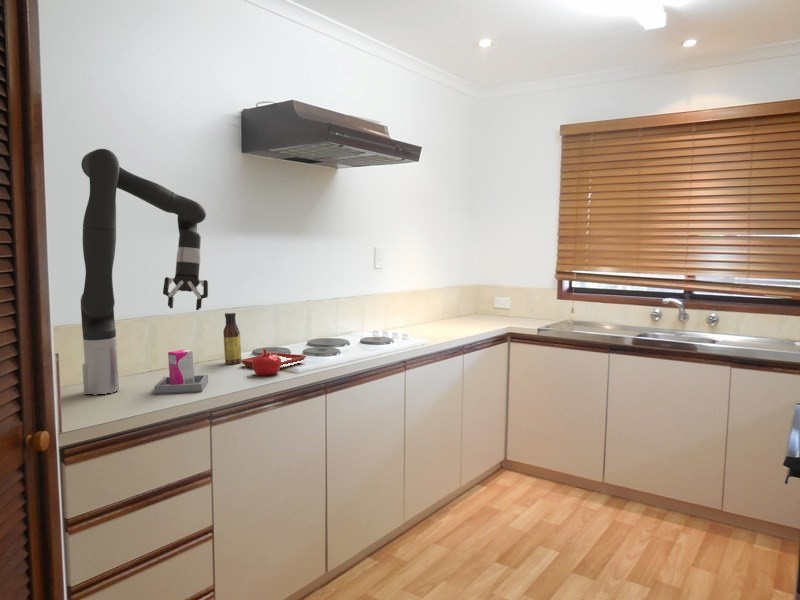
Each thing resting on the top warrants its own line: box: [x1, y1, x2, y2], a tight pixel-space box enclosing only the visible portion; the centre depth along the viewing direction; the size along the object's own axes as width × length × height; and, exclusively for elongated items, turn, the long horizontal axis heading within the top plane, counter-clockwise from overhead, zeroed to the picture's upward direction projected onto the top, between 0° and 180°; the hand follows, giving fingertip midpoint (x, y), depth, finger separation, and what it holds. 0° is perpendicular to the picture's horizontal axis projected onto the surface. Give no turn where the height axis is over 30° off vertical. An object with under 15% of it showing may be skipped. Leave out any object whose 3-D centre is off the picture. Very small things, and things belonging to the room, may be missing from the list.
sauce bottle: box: [223, 311, 242, 365], centre depth 232 cm, size 7×6×20 cm
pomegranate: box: [251, 348, 281, 377], centre depth 210 cm, size 10×10×9 cm
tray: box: [153, 374, 209, 395], centre depth 191 cm, size 14×14×2 cm
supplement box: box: [167, 349, 195, 385], centre depth 191 cm, size 6×6×12 cm
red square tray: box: [240, 352, 307, 368], centre depth 228 cm, size 18×18×3 cm
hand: (184, 309), depth 201 cm, fingers open, 8 cm apart
